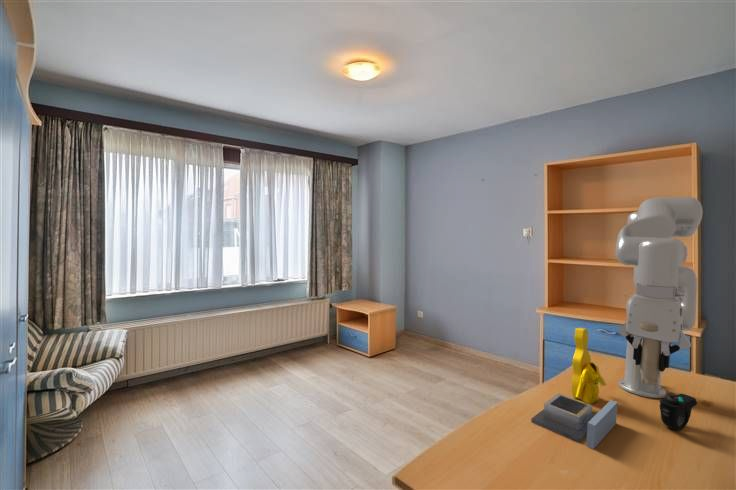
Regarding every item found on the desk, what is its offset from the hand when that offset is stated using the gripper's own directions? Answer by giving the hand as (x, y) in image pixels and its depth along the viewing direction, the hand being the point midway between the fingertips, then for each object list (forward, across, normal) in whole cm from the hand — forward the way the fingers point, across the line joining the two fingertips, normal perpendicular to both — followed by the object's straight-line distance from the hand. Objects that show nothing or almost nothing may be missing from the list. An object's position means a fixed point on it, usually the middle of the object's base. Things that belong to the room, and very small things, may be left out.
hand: (650, 365), depth 86 cm
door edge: (+21, +9, +1) cm, 23 cm away
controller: (+22, -3, -19) cm, 29 cm away
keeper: (+21, +17, +1) cm, 28 cm away
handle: (+4, 0, 0) cm, 4 cm away
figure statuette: (+22, +19, -17) cm, 34 cm away
